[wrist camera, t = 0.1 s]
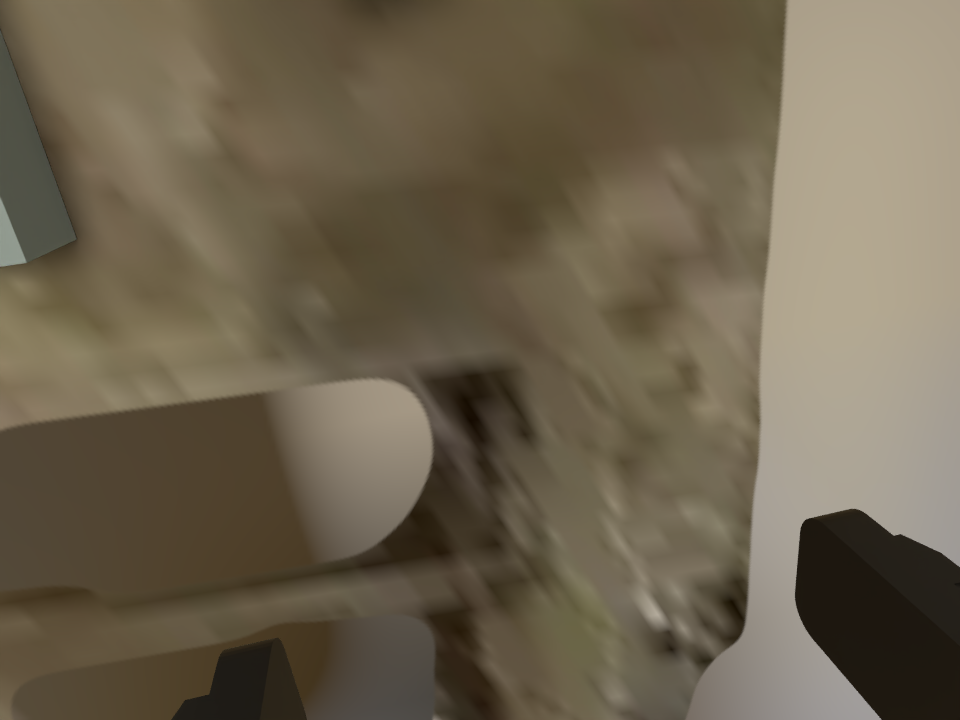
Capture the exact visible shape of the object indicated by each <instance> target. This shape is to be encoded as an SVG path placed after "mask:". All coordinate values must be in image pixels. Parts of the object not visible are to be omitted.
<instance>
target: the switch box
mask: <svg viewBox="0 0 960 720" xmlns="http://www.w3.org/2000/svg"><path fill="white" fill-rule="evenodd" d="M75 240H77V238H76V235H75V233H74V230H73V227H72V224H71V222H70V219H69V216H68V213H67V211H66V208H65V205H64V203H63V200H62V197H61V194H60V192H59V189H58V186H57V183H56V181H55V178H54V175H53V172H52V170H51V167H50V164H49V161H48V159H47V156H46V153H45V150H44V148H43V145H42V142H41V140H40V137H39V134H38V131H37V129H36V126H35V123H34V120H33V118H32V115H31V112H30V109H29V107H28V104H27V101H26V98H25V96H24V93H23V90H22V88H21V85H20V82H19V79H18V77H17V74H16V71H15V68H14V66H13V63H12V60H11V57H10V55H9V52H8V49H7V46H6V44H5V41H4V38H3V36H2V33H1V30H0V267H2V266H9V265H15V264H22V263H27V262H30V261H32V260H34V259H36V258H38V257H40V256H42V255H45V254H47V253H49V252H51V251H53V250H55V249H57V248H60V247H62V246H64V245H66V244H68V243H70V242H72V241H75Z"/></svg>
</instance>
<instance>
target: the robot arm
mask: <svg viewBox="0 0 960 720" xmlns="http://www.w3.org/2000/svg"><path fill="white" fill-rule="evenodd" d="M795 601H796V606H797V610H798V613H799V616H800V618H801V621H802V622H803V625H804V627H805V628H806V630H807V632H808V633H809V635H810V636H811V637H812V639H813V640H814V641H815V642H816V643H817V644H818V646H819V647H820V648H821V649H822V650H823V651H824V652H825V654H826V655H827V656H828V657H829V658H830V660H831V661H832V662H833V663H834V664H835V665H836V666H837V668H838V669H839V670H840V671H841V673H842V674H843V675H844V676H845V677H846V678H847V679H848V681H849V682H850V683H851V684H852V685H853V686H854V688H855V689H856V690H857V691H858V692H859V694H860V695H861V696H862V697H863V698H864V699H865V701H866V702H867V703H868V704H869V705H870V706H871V708H872V709H873V710H874V711H875V712H876V713H877V715H878V716H879V717H880V718H881V719H882V720H960V567H959V566H957V565H956V564H955V563H953V562H952V561H951V560H950V559H948V558H947V557H946V556H944V555H943V554H942V553H940V552H938V551H935V550H933V549H931V548H929V547H927V546H925V545H923V544H920V543H918V542H916V541H914V540H912V539H910V538H907V537H905V536H903V535H901V534H900V535H896V536H893V535H892V534H891V533H889V532H888V531H887V530H886V529H884V528H883V527H882V526H881V525H879V524H878V523H877V522H876V521H874V520H873V519H872V518H870V517H869V516H868V515H867V514H865V513H864V512H862V511H860V510H857V509H849V510H844V511H840V512H835V513H831V514H827V515H822V516H818V517H814V518H809V519H806V520H805V521H804V522H803V524H802V526H801V531H800V541H799V554H798V565H797V577H796V589H795ZM172 720H307V719H306V714H305V711H304V707H303V704H302V701H301V698H300V695H299V692H298V689H297V686H296V683H295V680H294V677H293V674H292V670H291V667H290V664H289V662H288V658H287V655H286V652H285V649H284V647H283V644H282V642H281V640H280V639H279V638H274V639H270V640H265V641H261V642H256V643H252V644H248V645H244V646H239V647H235V648H230V649H226V650H224V651H223V652H222V653H221V654H220V657H219V659H218V663H217V667H216V670H215V674H214V678H213V682H212V686H211V690H210V694H209V695H205V696H201V697H197V698H193V699H188V700H185V701H184V703H183V704H182V705H181V707H180V708H179V710H178V711H177V713H176V714H175V716H174V717H173V718H172Z"/></svg>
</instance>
